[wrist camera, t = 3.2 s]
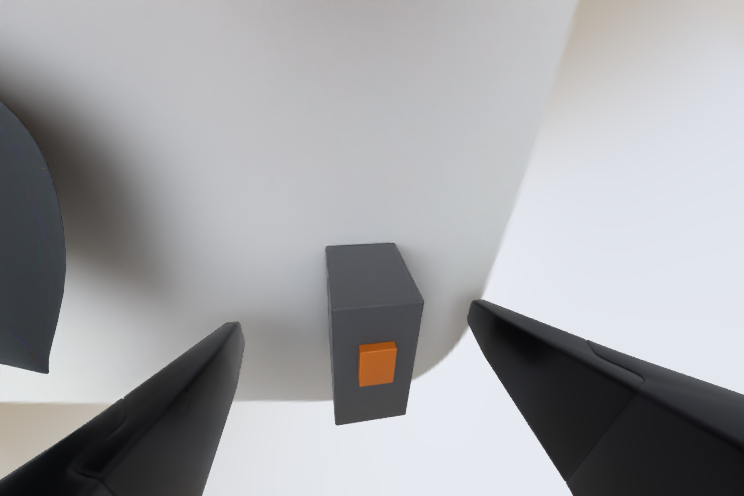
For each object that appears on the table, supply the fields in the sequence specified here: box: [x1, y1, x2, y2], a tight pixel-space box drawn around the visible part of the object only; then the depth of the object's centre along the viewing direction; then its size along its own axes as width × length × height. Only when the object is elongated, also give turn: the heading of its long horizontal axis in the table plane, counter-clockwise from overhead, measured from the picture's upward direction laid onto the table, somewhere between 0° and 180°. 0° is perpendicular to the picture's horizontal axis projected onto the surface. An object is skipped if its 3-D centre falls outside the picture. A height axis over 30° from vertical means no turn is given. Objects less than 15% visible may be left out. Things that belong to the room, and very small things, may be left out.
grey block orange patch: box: [326, 243, 424, 425], centre depth 10 cm, size 6×2×4 cm, turn 178°
